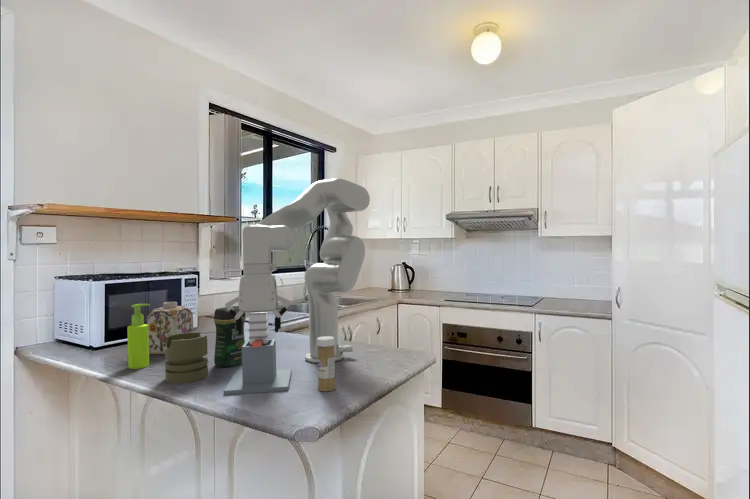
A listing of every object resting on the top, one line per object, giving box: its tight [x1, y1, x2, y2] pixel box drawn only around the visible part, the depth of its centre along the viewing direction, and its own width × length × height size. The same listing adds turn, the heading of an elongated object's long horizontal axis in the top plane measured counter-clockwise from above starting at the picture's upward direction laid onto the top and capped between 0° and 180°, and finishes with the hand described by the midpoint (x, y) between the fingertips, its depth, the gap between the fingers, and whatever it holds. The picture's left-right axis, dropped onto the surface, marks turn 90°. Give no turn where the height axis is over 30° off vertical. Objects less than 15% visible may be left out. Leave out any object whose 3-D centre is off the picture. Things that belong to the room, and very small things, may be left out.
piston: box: [164, 331, 209, 384], centre depth 123 cm, size 11×12×11 cm
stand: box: [223, 338, 292, 396], centre depth 116 cm, size 16×16×12 cm
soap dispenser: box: [126, 303, 151, 370], centre depth 136 cm, size 6×7×20 cm
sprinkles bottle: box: [317, 336, 336, 392], centre depth 109 cm, size 5×5×14 cm
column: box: [248, 311, 270, 346], centre depth 116 cm, size 5×5×18 cm
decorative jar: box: [146, 301, 195, 355], centre depth 156 cm, size 12×12×18 cm
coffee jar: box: [213, 305, 247, 368], centre depth 136 cm, size 10×8×19 cm
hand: (258, 332), depth 116 cm, fingers open, 9 cm apart
